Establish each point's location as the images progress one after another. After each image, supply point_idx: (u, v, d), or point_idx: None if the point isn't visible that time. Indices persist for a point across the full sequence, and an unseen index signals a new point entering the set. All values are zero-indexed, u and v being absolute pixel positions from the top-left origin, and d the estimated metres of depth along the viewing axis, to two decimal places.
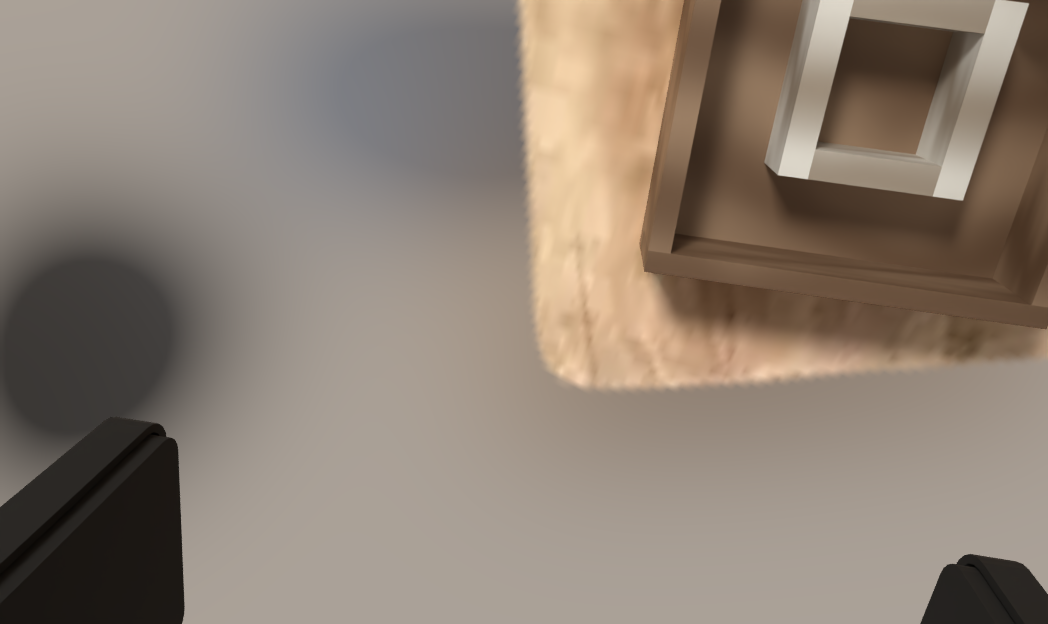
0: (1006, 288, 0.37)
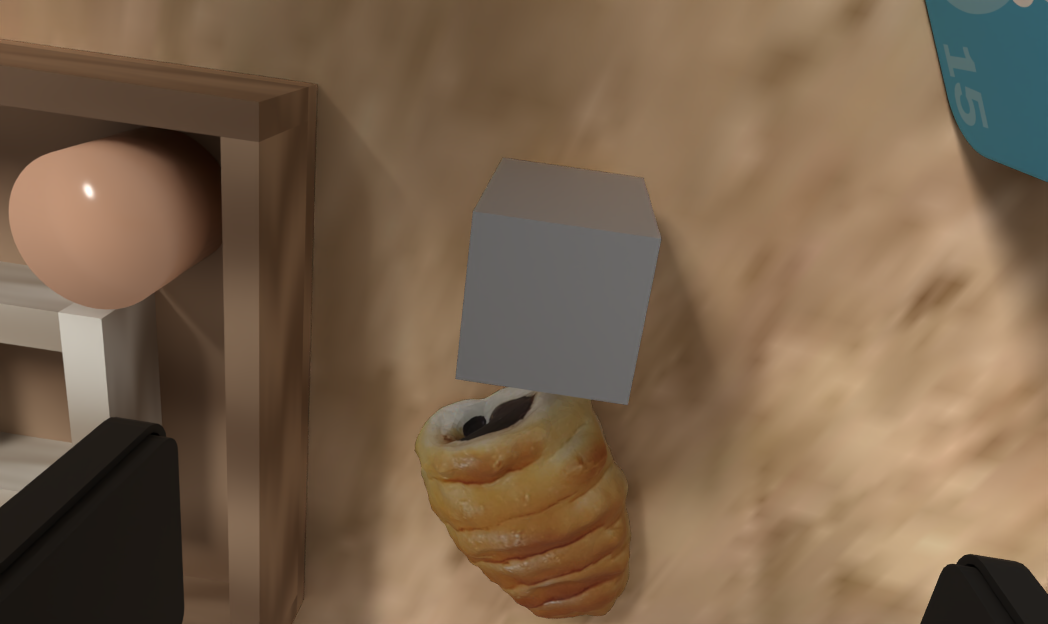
0: None
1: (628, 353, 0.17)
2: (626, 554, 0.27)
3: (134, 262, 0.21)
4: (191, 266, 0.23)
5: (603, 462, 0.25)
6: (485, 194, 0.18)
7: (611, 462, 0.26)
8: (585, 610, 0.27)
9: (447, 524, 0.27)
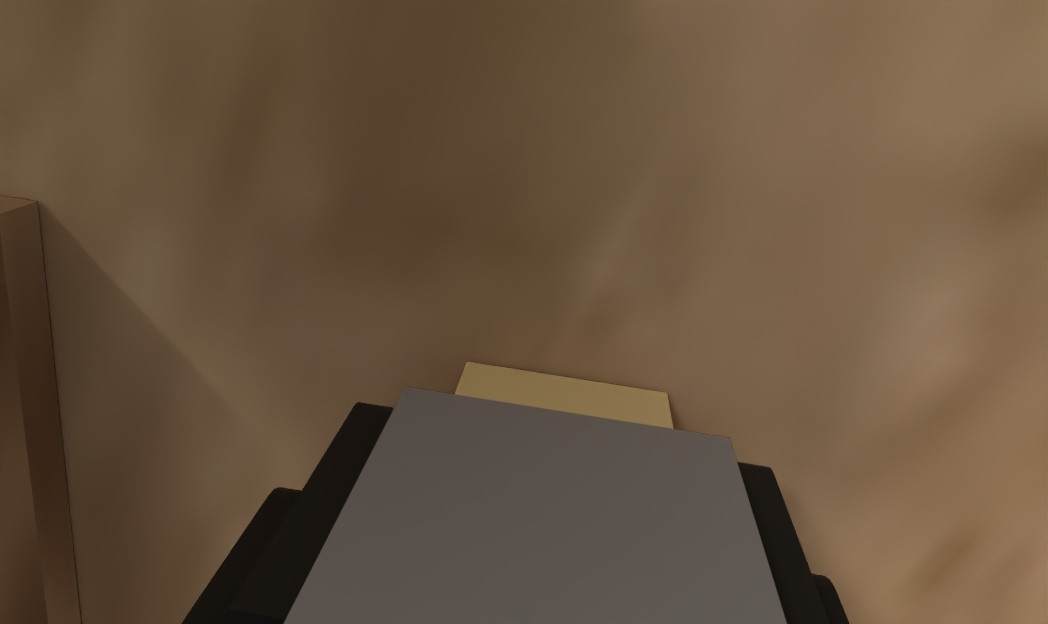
0: None
1: None
2: None
3: None
4: None
5: None
6: None
7: None
8: None
9: None
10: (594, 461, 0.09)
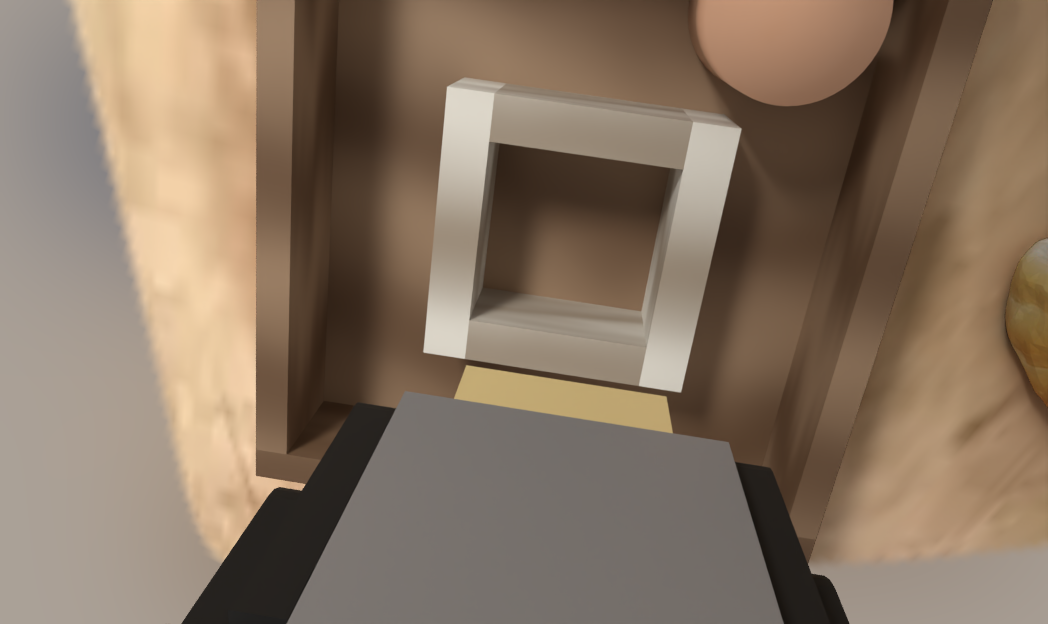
0: None
1: None
2: None
3: (839, 48, 0.19)
4: None
5: None
6: None
7: None
8: None
9: None
10: (593, 466, 0.09)
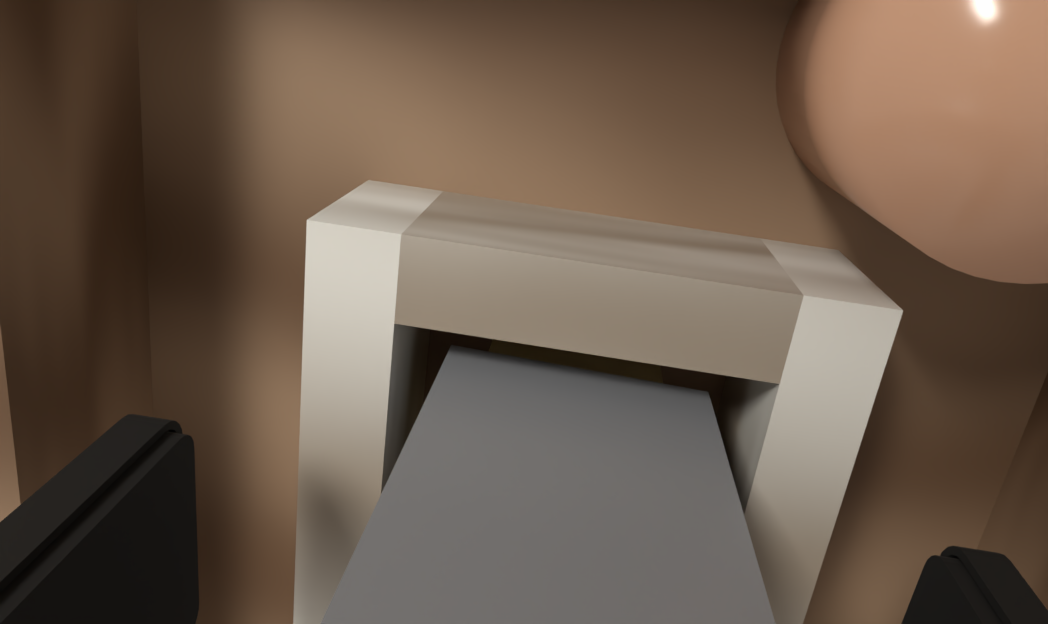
0: None
1: None
2: None
3: None
4: None
5: None
6: (378, 513, 0.08)
7: None
8: None
9: None
10: (601, 402, 0.11)
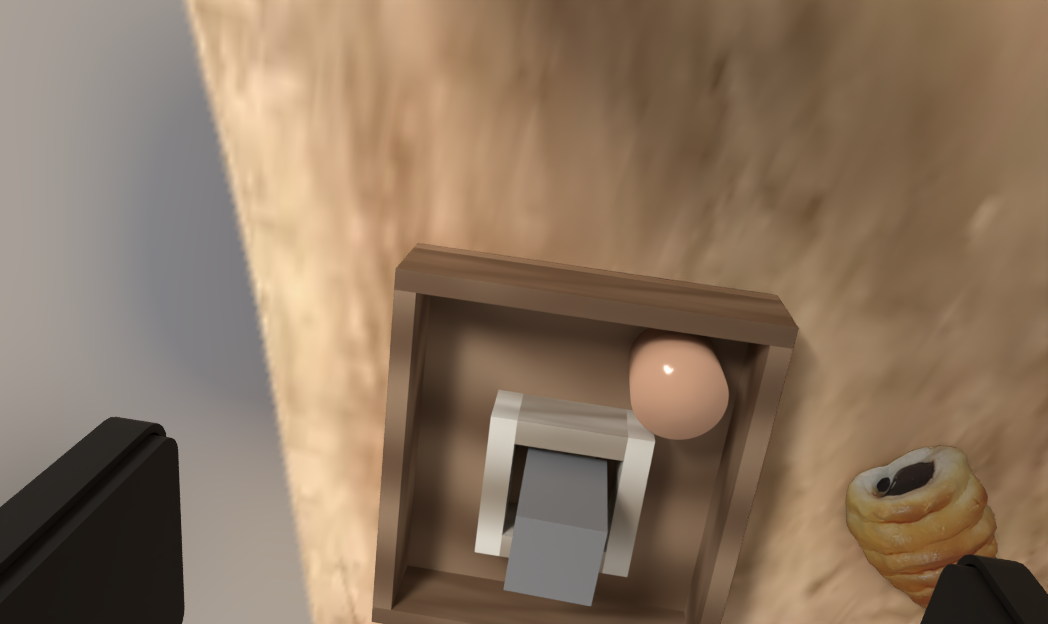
0: None
1: (591, 582, 0.35)
2: None
3: (702, 413, 0.36)
4: None
5: None
6: (521, 495, 0.35)
7: None
8: None
9: (872, 551, 0.41)
10: (573, 465, 0.38)
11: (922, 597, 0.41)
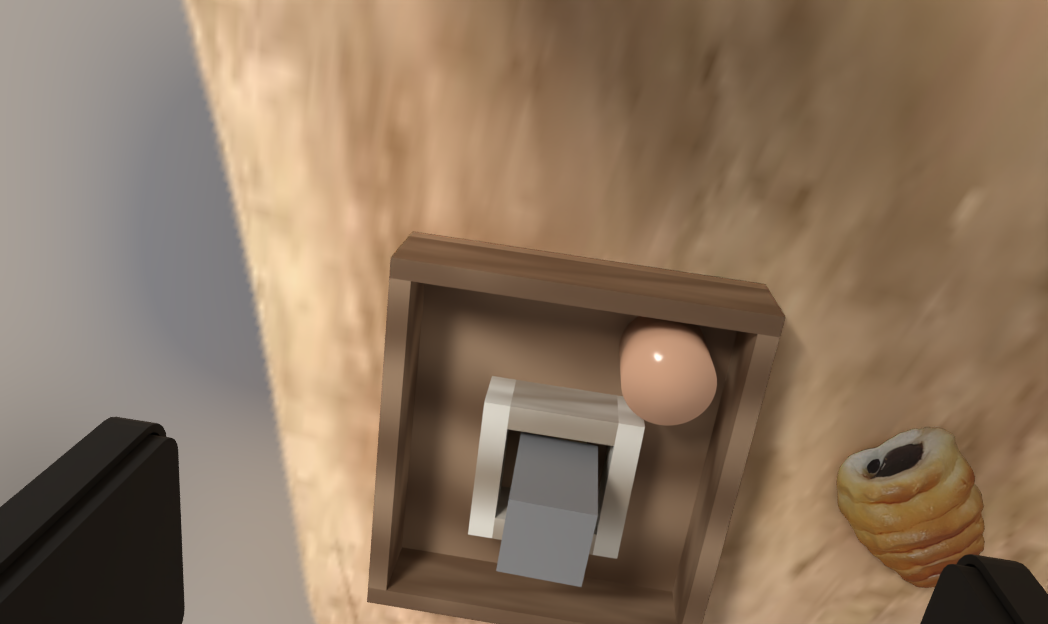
0: (673, 610, 0.44)
1: (581, 564, 0.36)
2: (983, 539, 0.41)
3: (691, 400, 0.37)
4: None
5: (974, 481, 0.40)
6: (513, 480, 0.36)
7: None
8: None
9: (863, 531, 0.41)
10: (565, 450, 0.39)
11: (911, 575, 0.42)
